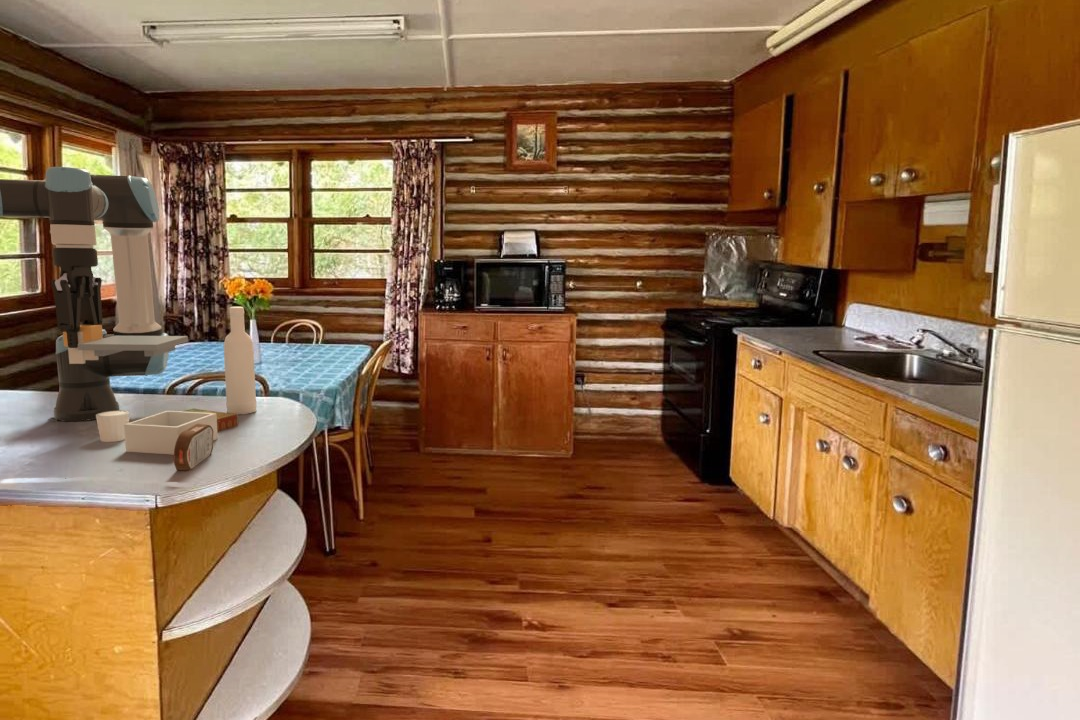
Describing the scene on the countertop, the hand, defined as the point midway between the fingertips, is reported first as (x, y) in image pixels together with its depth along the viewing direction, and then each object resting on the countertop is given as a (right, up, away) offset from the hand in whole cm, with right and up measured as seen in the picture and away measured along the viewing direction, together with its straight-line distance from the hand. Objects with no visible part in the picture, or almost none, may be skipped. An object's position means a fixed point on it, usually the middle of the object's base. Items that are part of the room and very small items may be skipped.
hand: (84, 361), depth 142 cm
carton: (+7, -18, +36) cm, 41 cm away
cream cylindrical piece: (-7, -20, +22) cm, 30 cm away
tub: (+9, -20, +18) cm, 28 cm away
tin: (+21, -23, +5) cm, 31 cm away
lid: (+8, +2, 0) cm, 8 cm away
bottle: (+9, -15, +55) cm, 57 cm away
